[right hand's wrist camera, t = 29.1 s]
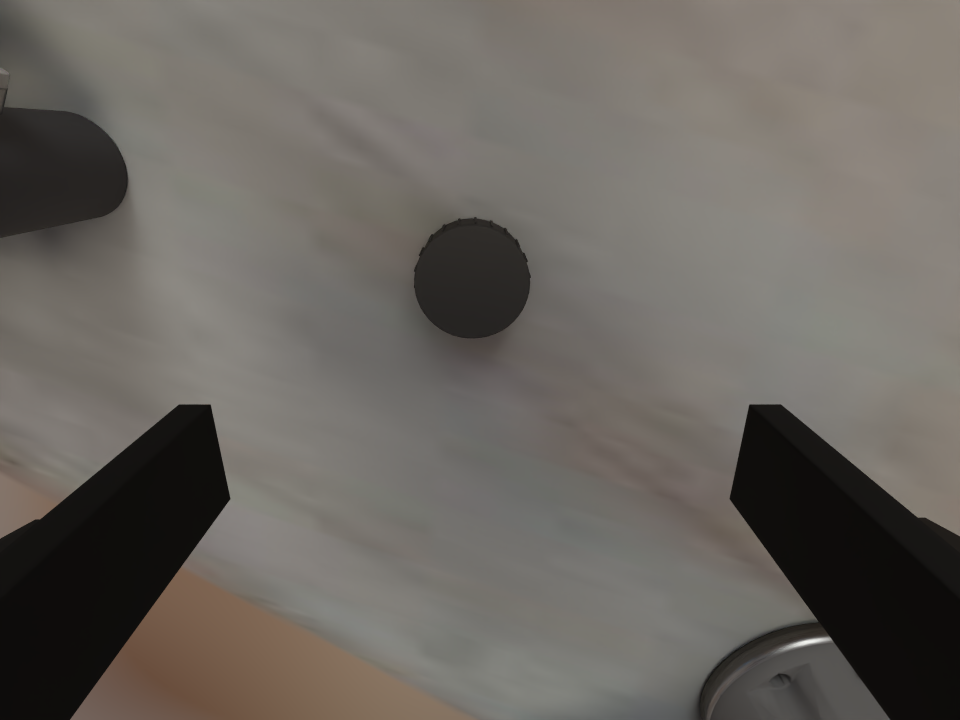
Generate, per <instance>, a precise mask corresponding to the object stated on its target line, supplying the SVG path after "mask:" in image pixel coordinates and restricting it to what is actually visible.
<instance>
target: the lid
mask: <svg viewBox="0 0 960 720" xmlns="http://www.w3.org/2000/svg"><path fill="white" fill-rule="evenodd" d="M419 256H420V258H419V261H418V263H417V265H416V267H415V269H414V272H415V278H414V288H415V293H416V297H417V300H418V303H419V305H420V307H421V309H422V310H423V312H424V314H425V315H426V316H427V317H428V319H429V320H430V321H431V322H432V323H433V324H434V325H436V326H437V327H438V328H440V329H441V330H443V331H445V332H447V333H449V334H452V335H454V336H458V337H463V338H482V337H487V336H490V335H493V334H496V333H498V332H500V331H502V330H503V329H505V328H506V327H508V326H509V325H510V324H511V323H512V322H513V321H514V320H515V319H516V318H517V317H518V316H519V314H520V313H521V311H522V310H523V308H524V306H525V304H526V301H527V298H528V294H529V289H530V278H531V276H530V273H529V270H528V266H527V263H526V262H528V261H527V258H526V256H525V254H524V253H522V251H521V249H520V245H519V243H518V240H517V239H516V240H515V239H514V238H513V237H512V236H511V235H510V233H508V232H507V229H506V228H504V229H503V228H502V227H500V226H499V225H497V224H494V223H493V221H491V220H490V222H489V221H486V220H482V219H477V218H476V217H474V219H462V220H460V219H458V221H455V222H452V223H450V224H448V225H445V224H444V225H443V227H442V228H441V229H440V230H438V231H437V232H436V233H435V234H434V235H433V234H432V235H431V236H430V238H429V241H428V242H427V244H426V246H425V248H424V247H423V248H422V250H421V252H420V254H419Z"/></svg>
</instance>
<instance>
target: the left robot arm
mask: <svg viewBox="0 0 960 720" xmlns="http://www.w3.org/2000/svg"><path fill="white" fill-rule="evenodd" d="M9 77H10V74H9V73H8V72H7V71H6V70H4V69H2V68H1V67H0V115H1V114H2V113H3V108H4V103H5V99H6V94H7V89H8V88H7V86H8V82H9Z"/></svg>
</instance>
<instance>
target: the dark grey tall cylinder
mask: <svg viewBox="0 0 960 720" xmlns="http://www.w3.org/2000/svg"><path fill="white" fill-rule="evenodd" d="M126 186H127V174H126V168H125V164H124V161H123V158H122V156H121V154H120V152H119V150H118V148H117V147H116V145H115V144H114V142H113V141H112V139H111V138H110V137H109V136H108V135H107V134H106V133H105V132H104V131H103V130H102V129H101V128H100V127H99V126H97V125H96V124H94V123H93V122H92V121H90V120H88V119H86V118H84V117H82V116H80V115H77V114H74V113H71V112H65V111H52V110H37V109H22V108H7V107H4V108H3V113H2V114H1V115H0V238H1V237H6V236H11V235H16V234H21V233H25V232H30V231H35V230H40V229H45V228H49V227H54V226H59V225H64V224H69V223H73V222H78V221H83V220H88V219H92V218H97V217H101V216H104V215H107V214H108V213H110V212H112V211H113V210H114V209H115V208H116V207H117V206H118V205H119V204H120V202H121V201H122V199H123V197H124V194H125V191H126Z"/></svg>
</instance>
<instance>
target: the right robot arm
mask: <svg viewBox="0 0 960 720" xmlns="http://www.w3.org/2000/svg"><path fill="white" fill-rule="evenodd" d="M229 500H230V495H229V490H228V485H227V481H226V476H225V471H224V466H223V461H222V457H221V452H220V447H219V442H218V438H217V433H216V428H215V423H214V419H213V414H212V409H211V405H178V406H177V407H176V408H174V409H173V410H172V411H171V412H170V413H168V414H167V415H166V416H165V417H164V418H162V419H161V420H160V421H159V422H157V423H156V424H155V425H154V426H153V427H151V428H150V429H149V430H148V431H147V432H145V433H144V434H143V435H142V436H141V437H139V438H138V439H137V440H136V441H135V442H133V443H132V444H131V445H130V446H128V447H127V448H126V449H125V450H124V451H122V452H121V453H120V454H119V455H118V456H116V457H115V458H114V459H113V460H112V461H110V462H109V463H108V464H107V465H106V466H104V467H103V468H102V469H101V470H99V471H98V472H97V473H96V474H95V475H93V476H92V477H91V478H90V479H89V480H87V481H86V482H85V483H84V484H83V485H81V486H80V487H79V488H78V489H77V490H75V491H74V492H73V493H72V494H70V495H69V496H68V497H67V498H66V499H64V500H63V501H62V502H61V503H60V504H58V505H57V506H56V507H55V508H54V509H52V510H51V511H50V512H49V513H48V514H46V515H45V516H44V517H43V518H41V519H40V520H34V521H32V522H30V523H28V524H26V525H25V526H23V527H21V528H19V529H17V530H15V531H13V532H12V533H10V534H8V535H6V536H4V537H3V538H1V539H0V720H70V719H71V717H72V716H73V715H74V713H75V712H76V711H77V709H78V708H79V706H80V705H81V704H82V702H83V701H84V699H85V698H86V697H87V695H88V694H89V693H90V691H91V690H92V689H93V687H94V686H95V684H96V683H97V682H98V680H99V679H100V678H101V676H102V675H103V673H104V672H105V671H106V669H107V668H108V667H109V665H110V664H111V662H112V661H113V660H114V658H115V657H116V656H117V654H118V653H119V651H120V650H121V649H122V647H123V646H124V644H125V643H126V642H127V640H128V639H129V638H130V636H131V635H132V634H133V632H134V631H135V629H136V628H137V627H138V625H139V624H140V623H141V621H142V620H143V618H144V617H145V616H146V614H147V613H148V612H149V610H150V609H151V607H152V606H153V605H154V603H155V602H156V601H157V599H158V598H159V596H160V595H161V594H162V592H163V591H164V590H165V588H166V587H167V585H168V584H169V583H170V581H171V580H172V579H173V577H174V576H175V574H176V573H177V572H178V570H179V569H180V568H181V566H182V565H183V563H184V562H185V561H186V559H187V558H188V557H189V555H190V554H191V552H192V551H193V550H194V548H195V547H196V546H197V544H198V543H199V541H200V540H201V539H202V537H203V536H204V535H205V533H206V532H207V530H208V529H209V528H210V526H211V525H212V524H213V522H214V521H215V519H216V518H217V517H218V515H219V514H220V513H221V511H222V510H223V508H224V507H225V506H226V504H227V503H228V501H229ZM730 500H731V501H732V503H733V504H734V506H735V507H736V508H737V510H738V511H739V513H740V514H741V515H742V517H743V518H744V519H745V521H746V522H747V524H748V525H749V526H750V528H751V529H752V530H753V532H754V533H755V535H756V536H757V537H758V539H759V540H760V541H761V543H762V544H763V546H764V547H765V548H766V550H767V551H768V552H769V554H770V555H771V557H772V558H773V559H774V561H775V562H776V563H777V565H778V566H779V568H780V569H781V570H782V572H783V573H784V574H785V576H786V577H787V579H788V580H789V581H790V583H791V584H792V585H793V587H794V588H795V590H796V591H797V592H798V594H799V595H800V596H801V598H802V599H803V601H804V602H805V603H806V605H807V606H808V607H809V609H810V610H811V612H812V613H813V614H814V616H815V617H816V618H817V620H818V621H819V623H810V624H804V625H798V626H793V627H789V628H785V629H782V630H779V631H775V632H773V633H770V634H767V635H765V636H763V637H760V638H758V639H756V640H754V641H752V642H750V643H749V644H747V645H745V646H743V647H742V648H740V649H739V650H737V651H736V652H735V653H733V654H732V655H731V656H729V657H728V658H727V659H726V660H725V661H724V662H722V664H721V665H720V666H719V667H718V668H717V669H716V670H715V671H714V673H713V674H712V675H711V677H710V678H709V680H708V681H707V683H706V685H705V687H704V690H703V692H702V695H701V701H700V714H701V718H702V720H960V536H958V535H956V534H954V533H952V532H951V531H949V530H947V529H945V528H943V527H941V526H940V525H938V524H936V523H934V522H932V521H930V520H928V519H927V518H917V517H916V516H915V515H914V514H912V513H911V512H910V511H909V510H908V509H906V508H905V507H904V506H903V505H902V504H900V503H899V502H898V501H897V500H896V499H894V498H893V497H892V496H891V495H890V494H888V493H887V492H886V491H885V490H883V489H882V488H881V487H880V486H879V485H877V484H876V483H875V482H874V481H873V480H871V479H870V478H869V477H868V476H867V475H865V474H864V473H863V472H862V471H861V470H859V469H858V468H857V467H856V466H854V465H853V464H852V463H851V462H850V461H848V460H847V459H846V458H845V457H844V456H842V455H841V454H840V453H839V452H838V451H836V450H835V449H834V448H833V447H832V446H830V445H829V444H828V443H827V442H825V441H824V440H823V439H822V438H821V437H819V436H818V435H817V434H816V433H815V432H813V431H812V430H811V429H810V428H809V427H807V426H806V425H805V424H804V423H803V422H801V421H800V420H799V419H798V418H796V417H795V416H794V415H793V414H792V413H790V412H789V411H788V410H787V409H786V408H784V407H783V406H782V405H749V409H748V414H747V419H746V423H745V428H744V433H743V438H742V442H741V447H740V452H739V457H738V461H737V466H736V471H735V476H734V481H733V485H732V490H731V495H730Z"/></svg>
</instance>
